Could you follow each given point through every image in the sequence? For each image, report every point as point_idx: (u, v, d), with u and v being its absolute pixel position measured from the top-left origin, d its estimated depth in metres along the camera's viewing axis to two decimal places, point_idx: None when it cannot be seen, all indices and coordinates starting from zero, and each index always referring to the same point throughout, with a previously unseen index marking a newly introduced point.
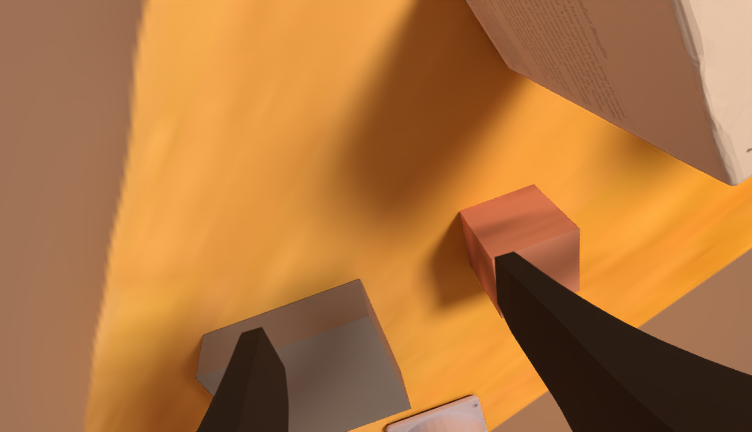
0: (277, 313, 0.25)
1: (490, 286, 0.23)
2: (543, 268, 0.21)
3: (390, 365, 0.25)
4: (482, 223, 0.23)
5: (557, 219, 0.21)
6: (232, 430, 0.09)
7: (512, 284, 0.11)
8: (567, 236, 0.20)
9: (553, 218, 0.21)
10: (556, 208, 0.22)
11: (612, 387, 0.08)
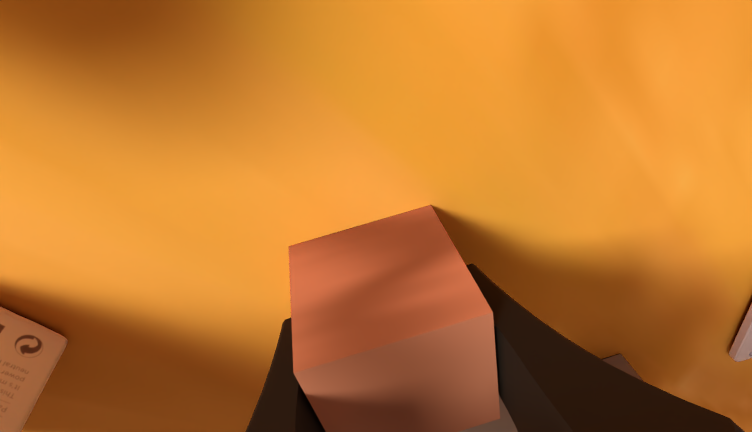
0: None
1: None
2: (393, 396, 0.10)
3: None
4: None
5: None
6: (290, 412, 0.09)
7: None
8: (314, 386, 0.09)
9: None
10: (292, 312, 0.11)
11: (548, 407, 0.08)
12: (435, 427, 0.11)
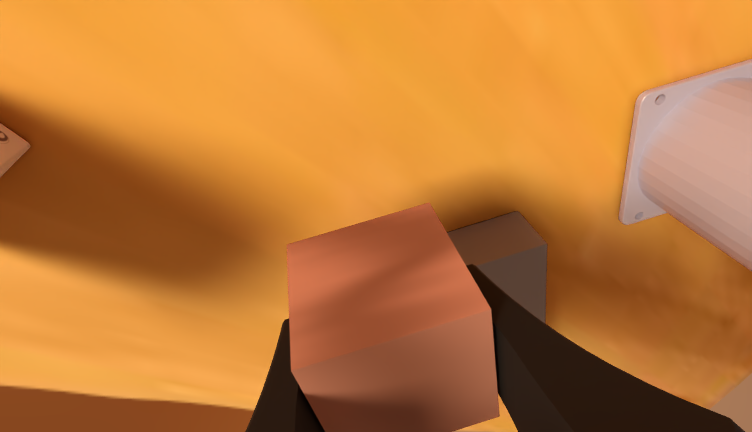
0: None
1: None
2: (391, 395, 0.10)
3: None
4: None
5: None
6: (290, 412, 0.09)
7: None
8: (312, 383, 0.09)
9: None
10: (289, 310, 0.11)
11: (548, 407, 0.08)
12: (435, 425, 0.11)
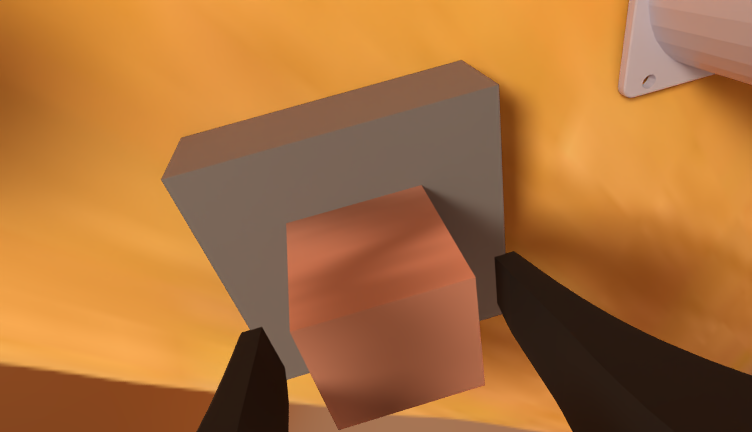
0: None
1: None
2: (383, 359, 0.11)
3: (326, 135, 0.12)
4: None
5: None
6: (232, 430, 0.09)
7: (512, 284, 0.11)
8: (309, 345, 0.10)
9: None
10: (288, 281, 0.11)
11: (612, 387, 0.08)
12: (424, 392, 0.12)
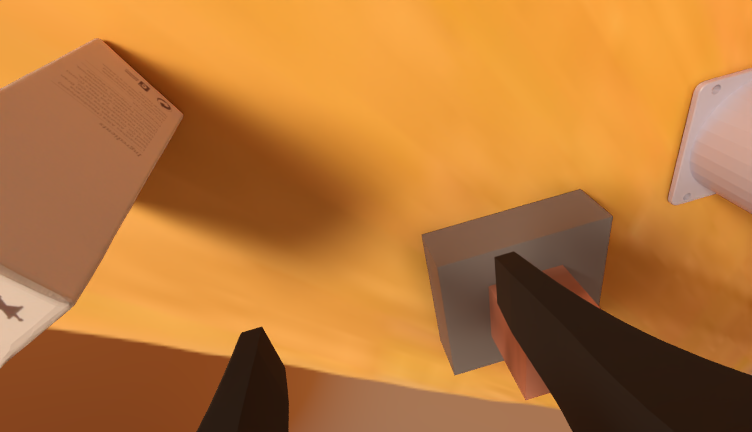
0: (434, 299, 0.28)
1: None
2: None
3: (522, 243, 0.23)
4: (503, 352, 0.25)
5: None
6: (232, 430, 0.09)
7: (512, 284, 0.11)
8: None
9: (514, 337, 0.22)
10: None
11: (612, 387, 0.08)
12: None
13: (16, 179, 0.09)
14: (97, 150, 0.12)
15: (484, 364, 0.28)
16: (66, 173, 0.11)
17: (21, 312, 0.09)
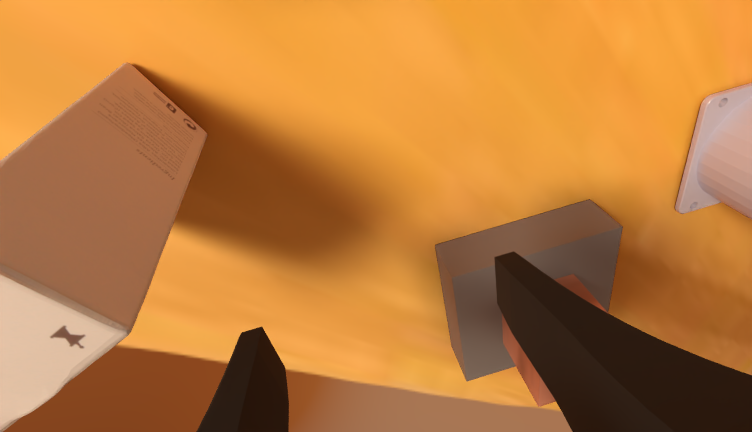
0: (446, 307, 0.28)
1: None
2: None
3: (534, 253, 0.23)
4: (515, 359, 0.25)
5: None
6: (232, 430, 0.09)
7: (512, 284, 0.11)
8: None
9: None
10: None
11: (612, 387, 0.08)
12: None
13: (72, 212, 0.10)
14: (137, 176, 0.13)
15: (495, 370, 0.29)
16: (113, 202, 0.11)
17: (82, 340, 0.09)
